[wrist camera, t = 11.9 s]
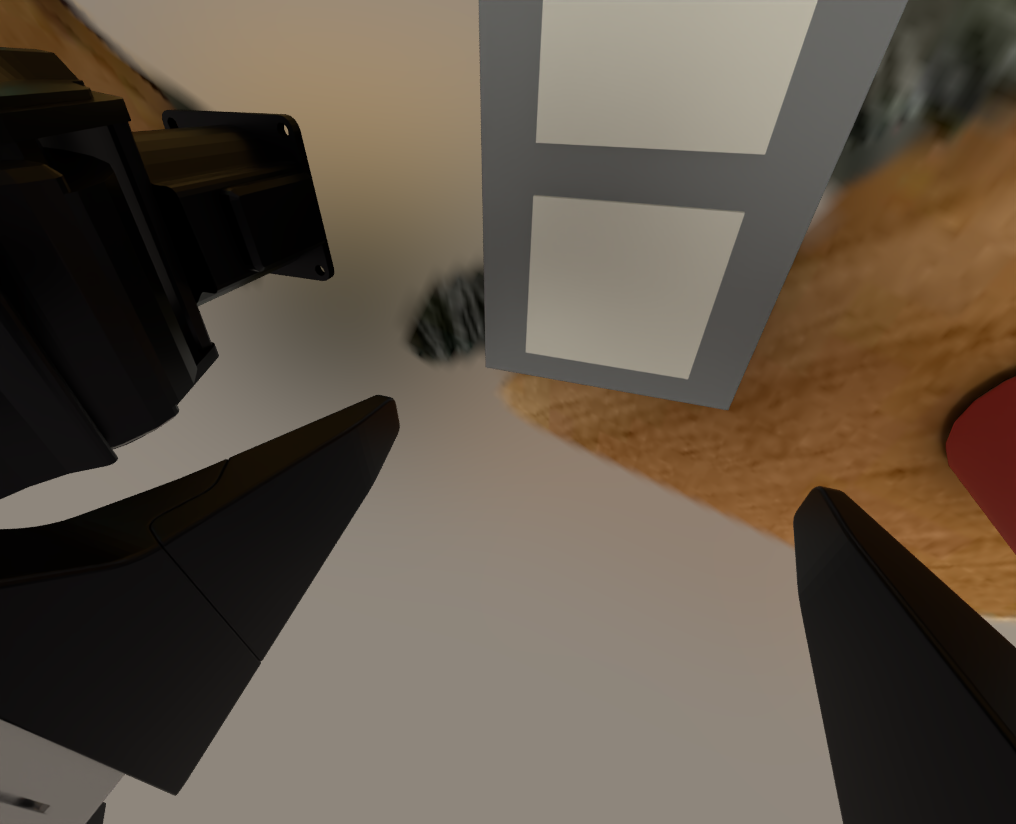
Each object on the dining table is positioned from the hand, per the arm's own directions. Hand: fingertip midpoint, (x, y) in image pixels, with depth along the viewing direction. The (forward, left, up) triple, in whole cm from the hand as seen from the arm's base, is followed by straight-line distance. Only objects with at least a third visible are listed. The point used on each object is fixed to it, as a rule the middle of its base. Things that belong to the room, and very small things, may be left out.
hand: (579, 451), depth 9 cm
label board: (0, +4, -10) cm, 11 cm away
